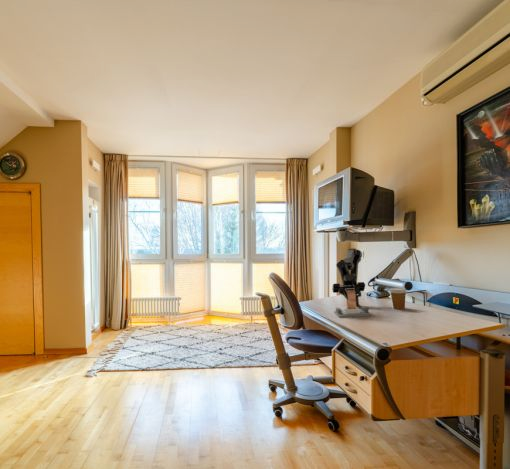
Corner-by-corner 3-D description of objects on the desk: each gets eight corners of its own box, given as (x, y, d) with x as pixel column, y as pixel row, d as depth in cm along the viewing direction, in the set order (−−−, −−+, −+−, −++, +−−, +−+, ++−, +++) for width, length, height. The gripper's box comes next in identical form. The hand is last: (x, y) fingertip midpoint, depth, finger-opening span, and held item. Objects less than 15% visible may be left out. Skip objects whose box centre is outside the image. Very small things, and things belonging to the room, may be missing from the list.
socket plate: (334, 312, 215) (334, 306, 215) (364, 311, 214) (364, 305, 214) (338, 317, 201) (338, 310, 201) (371, 315, 200) (370, 309, 200)
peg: (347, 309, 210) (345, 290, 210) (354, 308, 210) (353, 290, 210) (348, 310, 205) (347, 291, 206) (356, 310, 205) (355, 291, 205)
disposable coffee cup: (408, 310, 210) (406, 289, 210) (391, 310, 213) (389, 290, 213) (407, 307, 219) (405, 287, 219) (390, 307, 222) (389, 287, 222)
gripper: (331, 270, 212) (336, 291, 201) (363, 268, 212) (369, 289, 200) (330, 282, 220) (335, 302, 209) (360, 280, 219) (367, 301, 208)
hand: (351, 298), depth 206 cm, fingers closed on peg, 4 cm apart
